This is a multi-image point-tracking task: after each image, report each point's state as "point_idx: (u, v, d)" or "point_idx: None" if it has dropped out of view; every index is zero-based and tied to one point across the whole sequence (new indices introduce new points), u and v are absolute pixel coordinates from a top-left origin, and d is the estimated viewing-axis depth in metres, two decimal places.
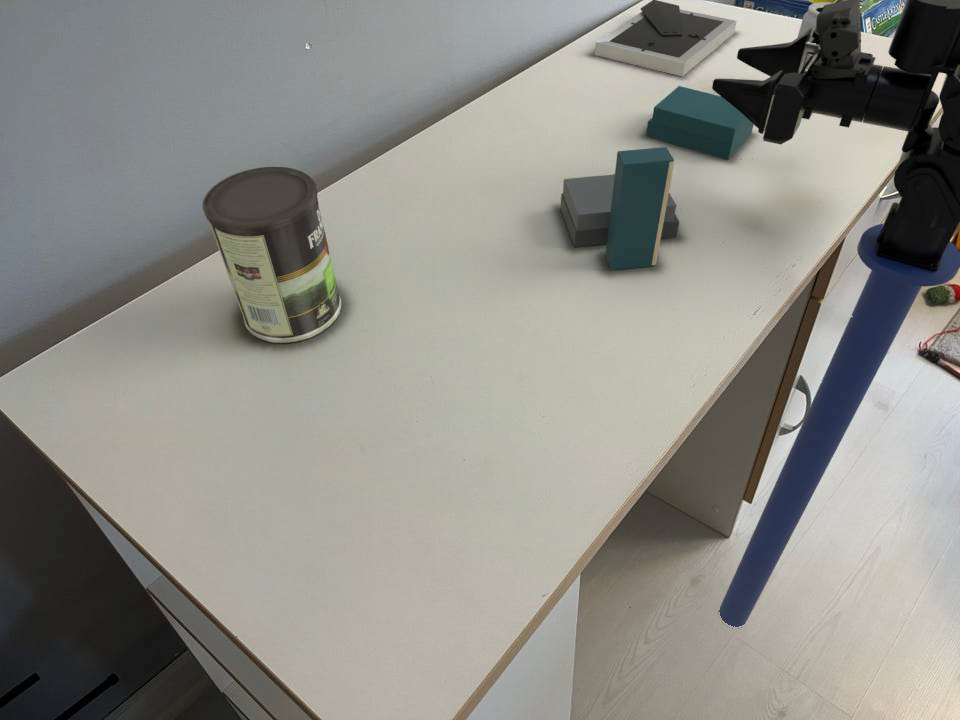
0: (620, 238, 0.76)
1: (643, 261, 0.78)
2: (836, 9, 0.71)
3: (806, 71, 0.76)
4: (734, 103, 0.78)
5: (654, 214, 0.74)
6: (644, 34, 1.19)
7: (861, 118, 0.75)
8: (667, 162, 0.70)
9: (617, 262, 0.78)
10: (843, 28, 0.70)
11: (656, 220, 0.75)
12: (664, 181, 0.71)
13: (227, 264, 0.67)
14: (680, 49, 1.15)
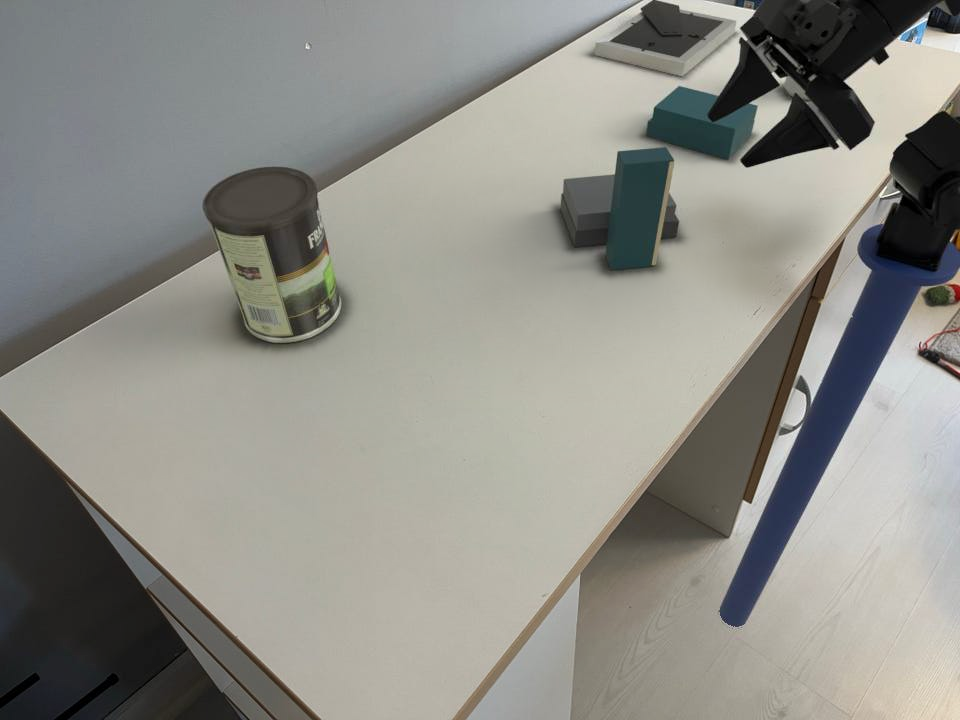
0: (620, 238, 0.76)
1: (643, 261, 0.78)
2: (776, 8, 0.61)
3: (800, 67, 0.65)
4: (781, 155, 0.66)
5: (654, 214, 0.74)
6: (644, 34, 1.19)
7: (892, 39, 0.63)
8: (667, 162, 0.70)
9: (617, 262, 0.78)
10: (810, 12, 0.59)
11: (656, 220, 0.75)
12: (664, 181, 0.71)
13: (227, 264, 0.67)
14: (680, 49, 1.15)
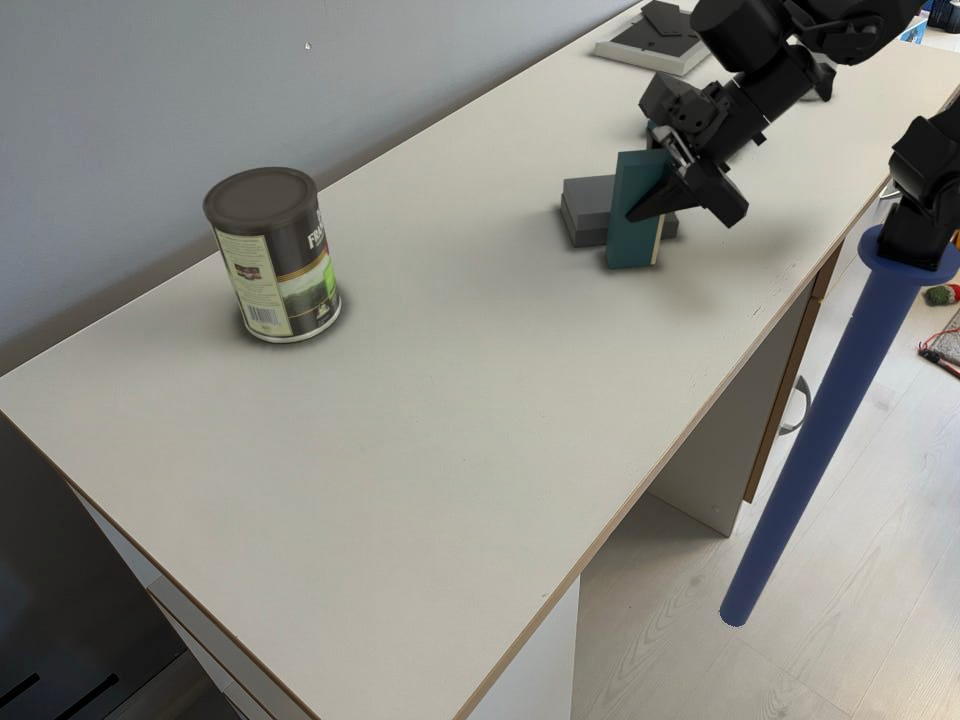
0: (619, 238, 0.76)
1: (643, 260, 0.78)
2: (656, 98, 0.65)
3: None
4: (660, 212, 0.72)
5: None
6: (644, 34, 1.19)
7: (768, 124, 0.67)
8: None
9: (616, 261, 0.78)
10: (683, 106, 0.63)
11: (656, 221, 0.74)
12: None
13: (227, 264, 0.67)
14: (680, 48, 1.15)
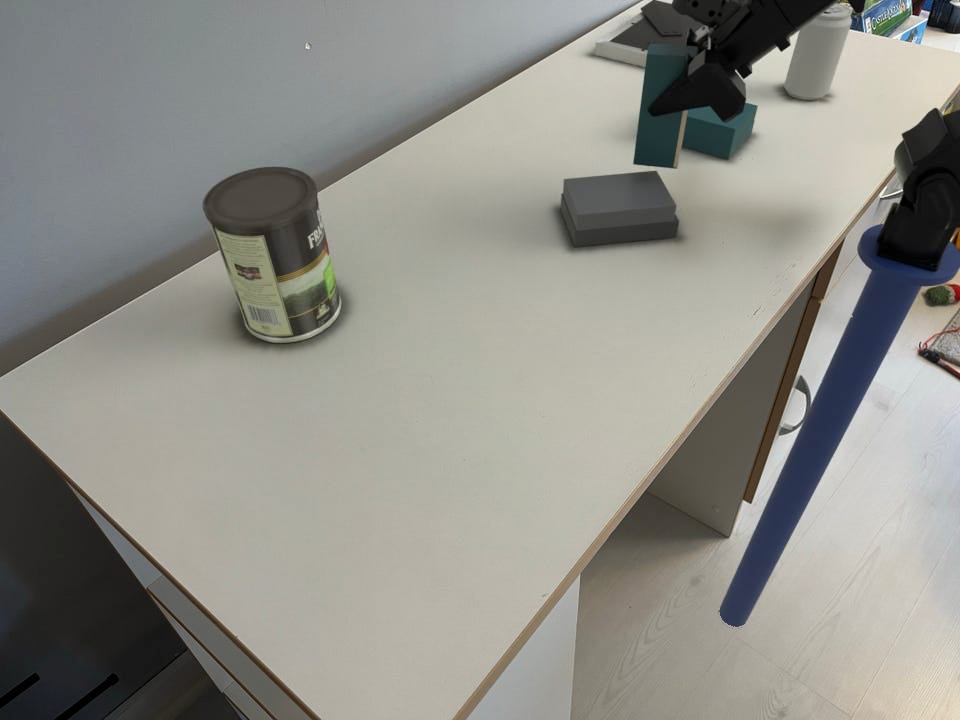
0: (642, 132, 0.80)
1: (665, 161, 0.82)
2: None
3: None
4: (679, 108, 0.76)
5: (676, 112, 0.77)
6: (644, 34, 1.19)
7: (792, 29, 0.68)
8: None
9: (639, 157, 0.82)
10: None
11: (678, 119, 0.78)
12: None
13: (227, 264, 0.67)
14: None
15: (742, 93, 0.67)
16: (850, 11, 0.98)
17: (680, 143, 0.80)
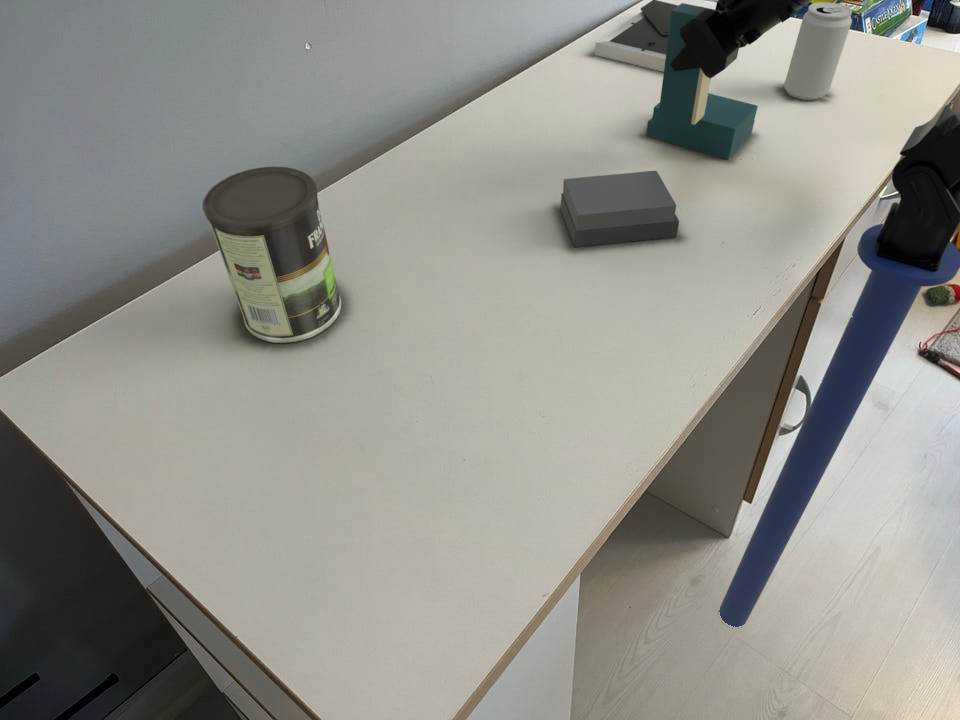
0: (666, 85, 0.88)
1: (684, 117, 0.89)
2: None
3: None
4: (693, 65, 0.83)
5: (694, 70, 0.85)
6: (644, 34, 1.19)
7: (793, 1, 0.73)
8: None
9: (663, 109, 0.91)
10: None
11: (696, 77, 0.85)
12: None
13: (227, 264, 0.67)
14: None
15: (724, 51, 0.74)
16: (850, 11, 0.98)
17: (697, 101, 0.87)
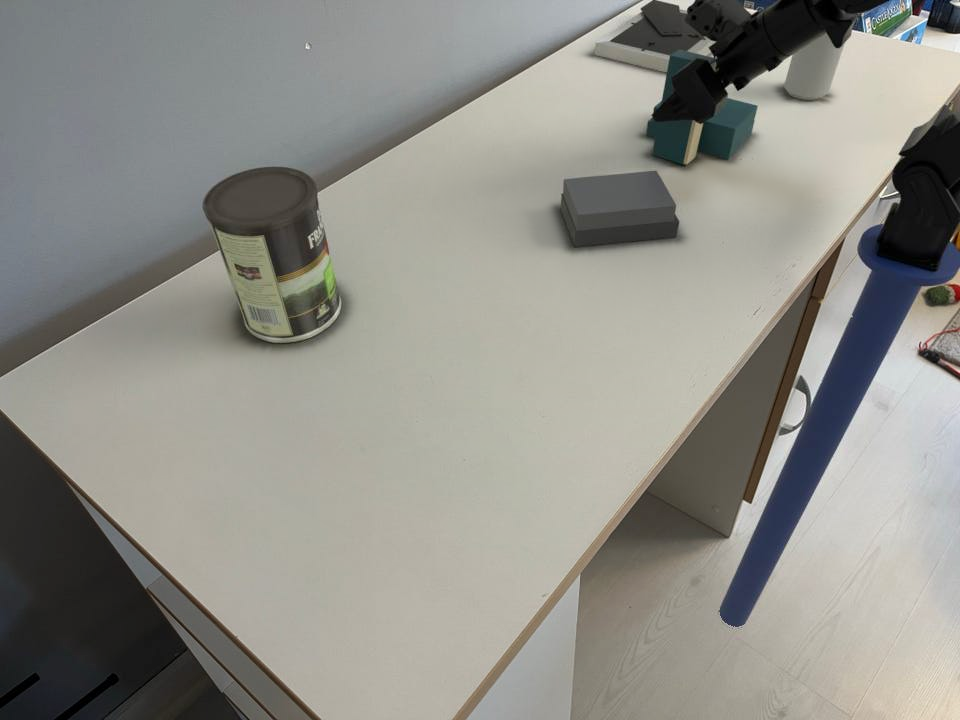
0: (661, 125, 0.92)
1: (677, 157, 0.93)
2: None
3: (716, 57, 0.83)
4: (673, 118, 0.85)
5: None
6: (644, 34, 1.19)
7: (779, 53, 0.77)
8: None
9: (657, 148, 0.95)
10: (696, 8, 0.78)
11: None
12: None
13: (227, 264, 0.67)
14: (680, 48, 1.15)
15: (714, 99, 0.78)
16: None
17: (690, 141, 0.91)
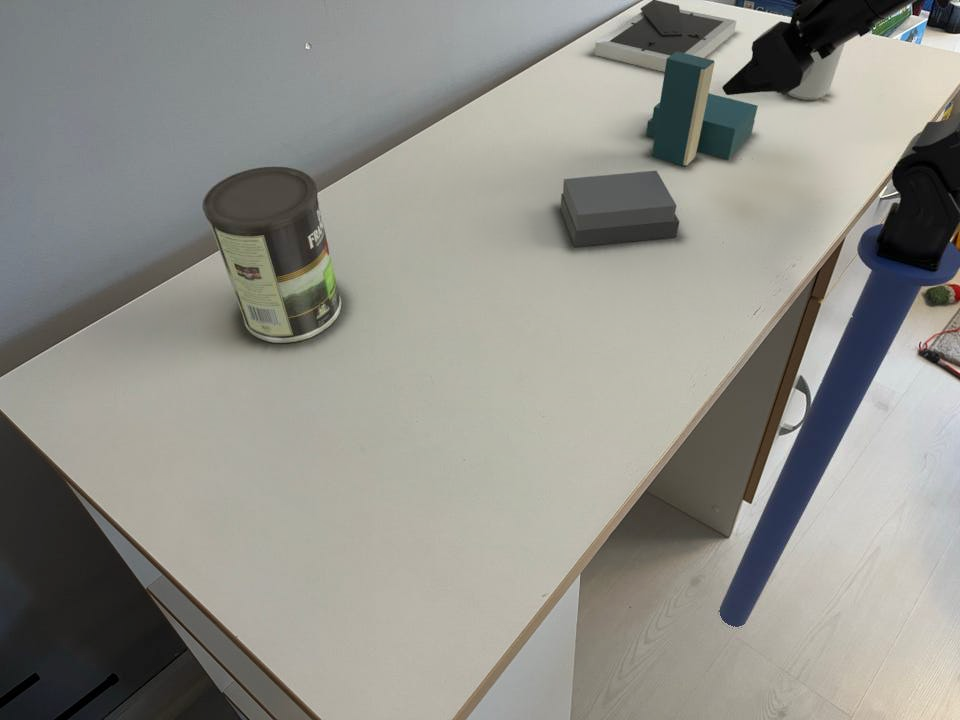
0: (660, 127, 0.92)
1: (677, 158, 0.93)
2: None
3: (798, 22, 0.76)
4: (748, 90, 0.78)
5: (687, 115, 0.89)
6: (644, 34, 1.19)
7: (873, 15, 0.70)
8: (699, 68, 0.85)
9: (656, 150, 0.95)
10: None
11: (688, 121, 0.89)
12: (696, 86, 0.86)
13: (227, 264, 0.67)
14: (680, 48, 1.15)
15: (801, 67, 0.71)
16: None
17: (689, 143, 0.91)
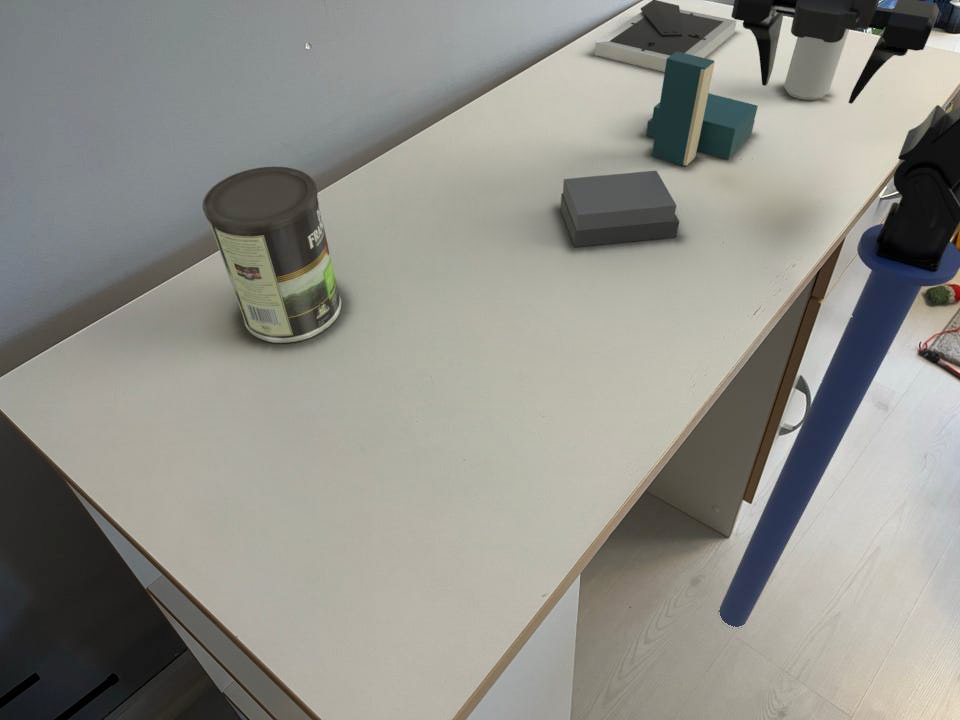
0: (660, 127, 0.92)
1: (677, 158, 0.93)
2: (827, 27, 0.67)
3: None
4: None
5: (687, 115, 0.89)
6: (644, 34, 1.19)
7: None
8: (699, 68, 0.85)
9: (656, 150, 0.95)
10: (868, 14, 0.65)
11: (688, 121, 0.89)
12: (696, 86, 0.86)
13: (227, 264, 0.67)
14: (680, 49, 1.15)
15: (932, 4, 0.69)
16: None
17: (689, 143, 0.91)
